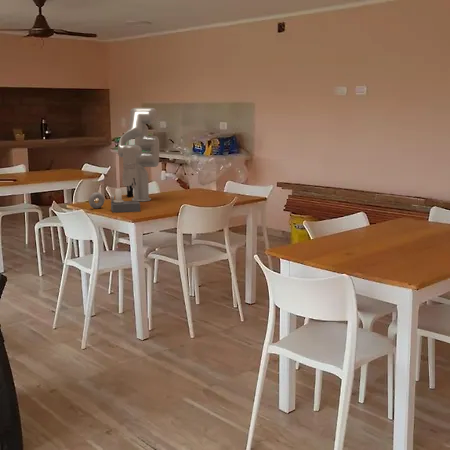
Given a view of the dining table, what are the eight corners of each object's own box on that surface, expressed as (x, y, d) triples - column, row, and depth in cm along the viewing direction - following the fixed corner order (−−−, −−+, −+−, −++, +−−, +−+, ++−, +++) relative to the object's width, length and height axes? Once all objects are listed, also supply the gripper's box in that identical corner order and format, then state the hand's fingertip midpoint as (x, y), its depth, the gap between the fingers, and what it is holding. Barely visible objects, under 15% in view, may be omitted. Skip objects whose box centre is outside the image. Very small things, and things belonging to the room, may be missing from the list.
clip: (109, 199, 366) (109, 196, 366) (131, 197, 375) (131, 193, 375) (111, 199, 365) (111, 196, 364) (133, 197, 373) (133, 194, 373)
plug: (113, 210, 368) (112, 188, 365) (123, 209, 369) (122, 188, 367) (114, 211, 362) (113, 190, 359) (124, 211, 364) (124, 189, 361)
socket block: (111, 209, 370) (110, 199, 368) (137, 208, 374) (137, 198, 373) (113, 212, 359) (112, 201, 358) (140, 211, 364) (140, 200, 362)
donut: (90, 209, 368) (89, 193, 366) (88, 208, 371) (87, 192, 369) (105, 208, 374) (105, 191, 372) (103, 207, 377) (102, 191, 375)
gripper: (118, 166, 371) (118, 196, 374) (129, 167, 359) (130, 199, 362) (129, 165, 375) (129, 195, 378) (141, 167, 363) (141, 198, 367)
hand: (130, 197), depth 370 cm, fingers closed
